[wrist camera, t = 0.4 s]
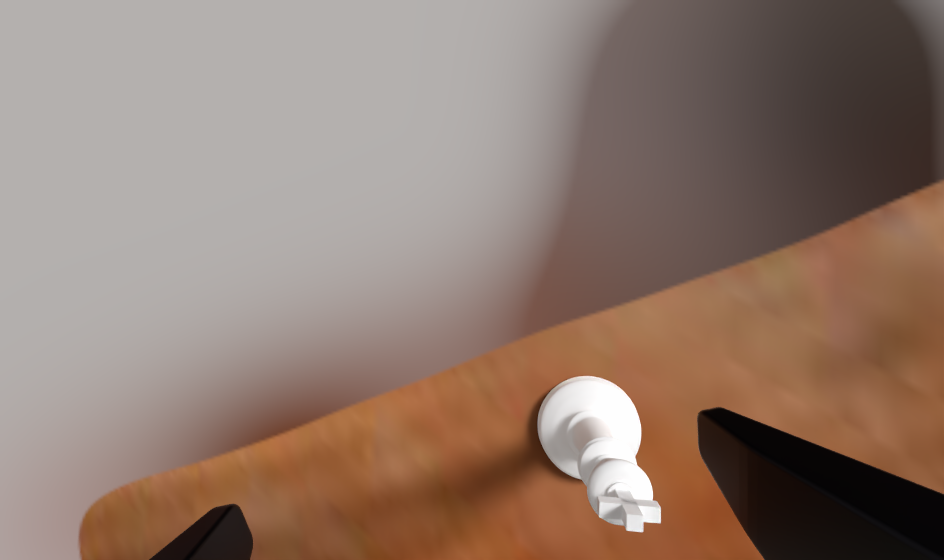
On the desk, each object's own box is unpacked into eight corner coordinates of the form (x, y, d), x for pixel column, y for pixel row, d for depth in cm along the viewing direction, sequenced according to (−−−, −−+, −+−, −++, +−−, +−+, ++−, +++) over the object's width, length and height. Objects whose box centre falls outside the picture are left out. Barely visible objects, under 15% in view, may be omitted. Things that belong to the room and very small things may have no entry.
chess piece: (639, 481, 21) (732, 629, 12) (536, 473, 22) (541, 606, 12) (640, 378, 22) (731, 437, 12) (538, 373, 22) (545, 424, 12)
